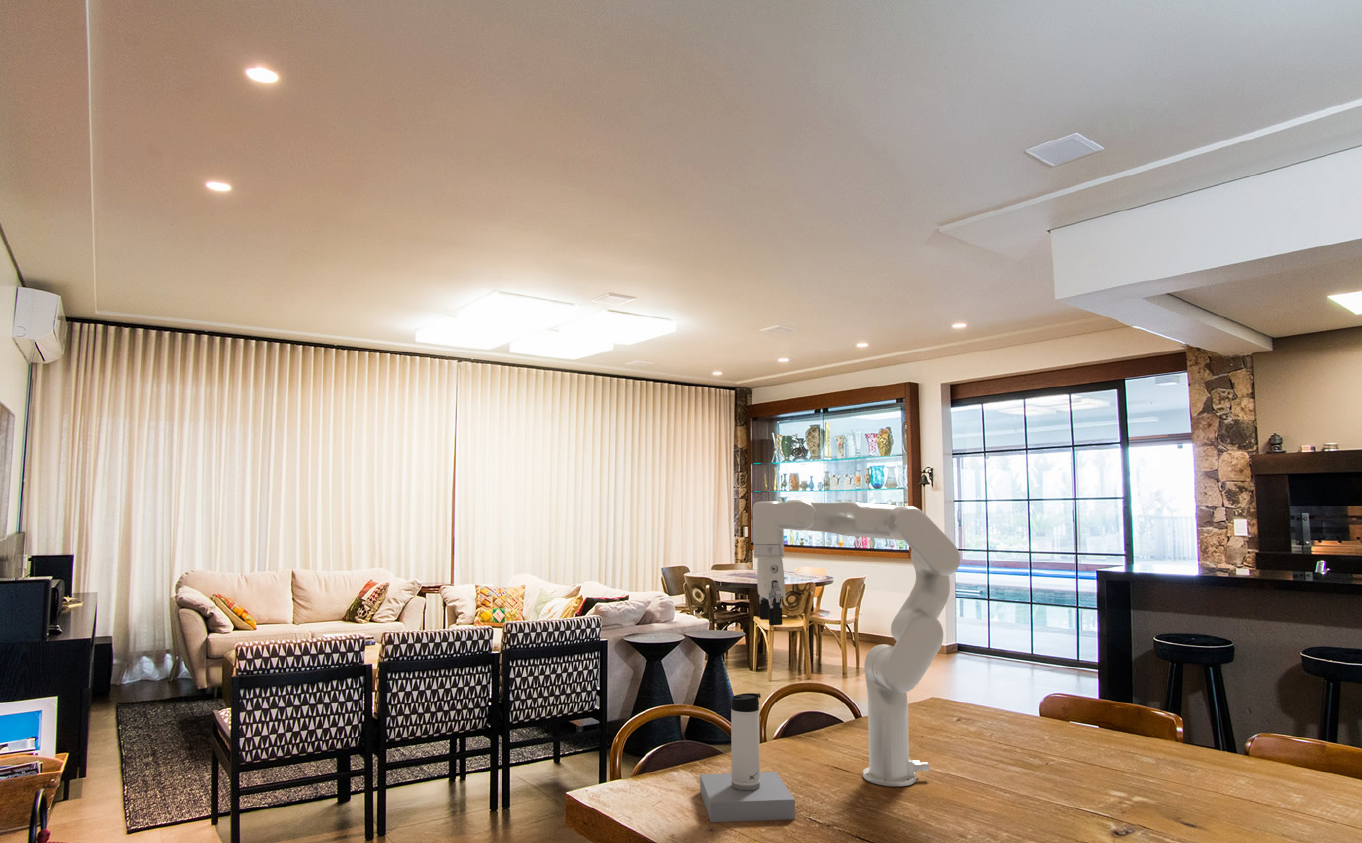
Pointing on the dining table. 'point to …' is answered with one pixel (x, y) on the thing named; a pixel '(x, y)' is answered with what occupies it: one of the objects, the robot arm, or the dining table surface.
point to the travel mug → (745, 742)
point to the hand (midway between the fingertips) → (770, 622)
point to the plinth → (746, 799)
